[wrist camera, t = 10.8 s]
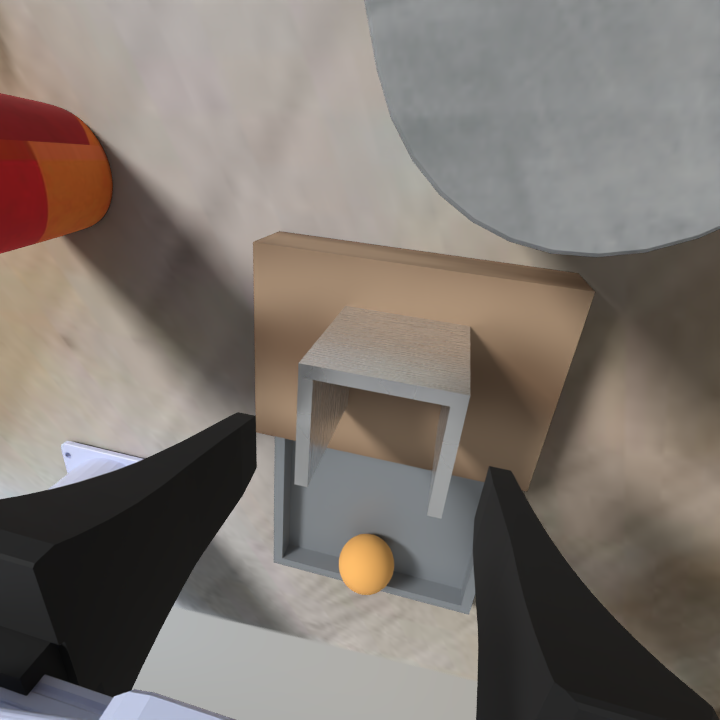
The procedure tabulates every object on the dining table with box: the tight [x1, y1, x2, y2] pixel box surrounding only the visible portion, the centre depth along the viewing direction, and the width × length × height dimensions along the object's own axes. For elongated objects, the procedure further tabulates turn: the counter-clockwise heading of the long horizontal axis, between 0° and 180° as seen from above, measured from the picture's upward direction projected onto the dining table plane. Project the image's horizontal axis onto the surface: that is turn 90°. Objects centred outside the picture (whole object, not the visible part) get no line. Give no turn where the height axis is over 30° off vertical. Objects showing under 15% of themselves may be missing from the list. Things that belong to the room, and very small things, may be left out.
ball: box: [339, 534, 394, 595], centre depth 27 cm, size 3×3×3 cm
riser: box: [253, 231, 595, 492], centre depth 21 cm, size 10×14×3 cm
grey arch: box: [294, 306, 470, 519], centre depth 17 cm, size 5×5×6 cm
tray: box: [274, 436, 484, 615], centre depth 27 cm, size 11×13×2 cm
